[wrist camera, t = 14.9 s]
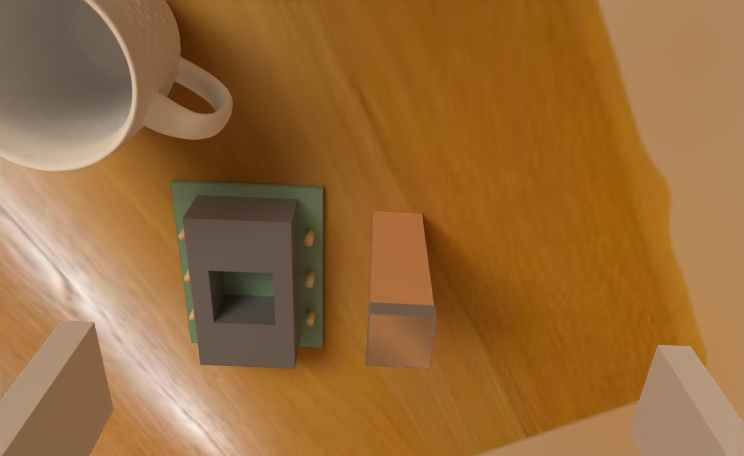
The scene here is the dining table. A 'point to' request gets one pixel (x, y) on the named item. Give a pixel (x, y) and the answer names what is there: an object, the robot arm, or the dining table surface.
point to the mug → (94, 81)
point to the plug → (399, 293)
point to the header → (251, 270)
